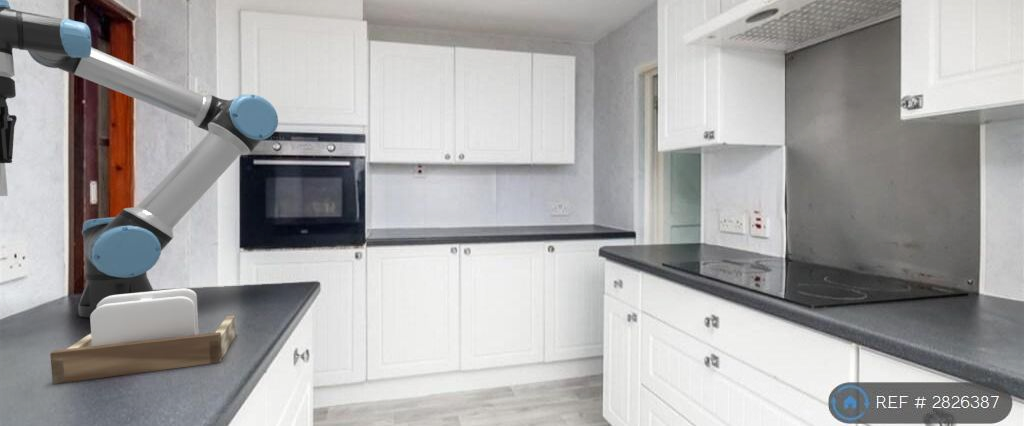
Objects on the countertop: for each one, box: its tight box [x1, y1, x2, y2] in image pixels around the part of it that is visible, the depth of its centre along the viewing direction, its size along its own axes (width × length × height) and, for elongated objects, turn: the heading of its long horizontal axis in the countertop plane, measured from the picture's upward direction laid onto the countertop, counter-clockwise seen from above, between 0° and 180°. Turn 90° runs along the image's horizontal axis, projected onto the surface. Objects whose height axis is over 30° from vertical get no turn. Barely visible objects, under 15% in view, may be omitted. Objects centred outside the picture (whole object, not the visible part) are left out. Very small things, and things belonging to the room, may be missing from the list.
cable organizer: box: [89, 287, 200, 346], centre depth 85 cm, size 15×11×12 cm
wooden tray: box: [50, 315, 237, 385], centre depth 87 cm, size 16×23×5 cm
